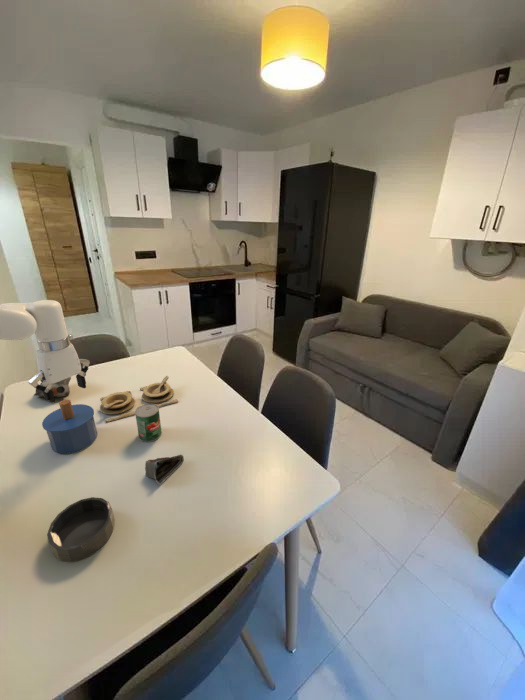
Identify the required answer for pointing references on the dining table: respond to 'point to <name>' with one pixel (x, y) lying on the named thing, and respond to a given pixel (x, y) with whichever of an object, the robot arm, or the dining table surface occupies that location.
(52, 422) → the pot lid
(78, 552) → the bowl
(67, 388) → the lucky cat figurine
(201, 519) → the dining table surface
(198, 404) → the dining table surface
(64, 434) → the pot
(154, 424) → the canned tomato
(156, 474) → the chocolate cake
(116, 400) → the tableware set
